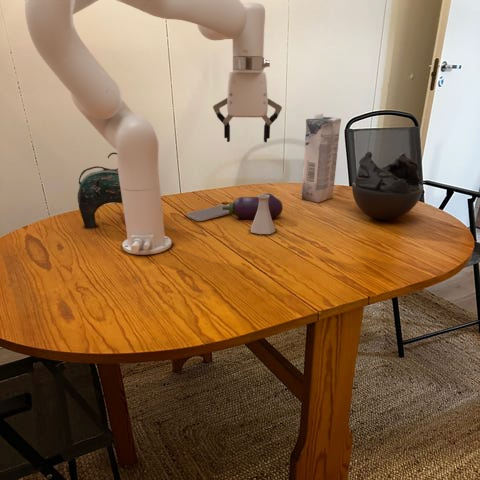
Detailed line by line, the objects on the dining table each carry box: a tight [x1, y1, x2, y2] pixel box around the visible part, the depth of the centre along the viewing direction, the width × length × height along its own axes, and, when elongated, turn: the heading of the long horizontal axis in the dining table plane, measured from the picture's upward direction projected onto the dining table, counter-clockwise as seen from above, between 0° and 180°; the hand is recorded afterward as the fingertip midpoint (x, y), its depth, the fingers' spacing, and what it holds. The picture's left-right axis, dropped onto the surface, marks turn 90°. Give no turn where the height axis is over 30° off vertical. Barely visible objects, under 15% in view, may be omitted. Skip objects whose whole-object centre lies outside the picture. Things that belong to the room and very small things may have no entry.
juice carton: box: [301, 113, 342, 203], centre depth 148 cm, size 9×10×27 cm
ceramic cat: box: [77, 151, 123, 229], centre depth 127 cm, size 20×6×20 cm, turn 108°
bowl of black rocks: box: [351, 151, 424, 221], centre depth 130 cm, size 20×20×19 cm
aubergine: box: [223, 192, 284, 220], centre depth 134 cm, size 7×18×7 cm, turn 91°
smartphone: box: [186, 204, 230, 222], centre depth 139 cm, size 7×1×15 cm
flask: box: [250, 193, 276, 235], centre depth 124 cm, size 7×7×10 cm
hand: (246, 141), depth 116 cm, fingers open, 9 cm apart
